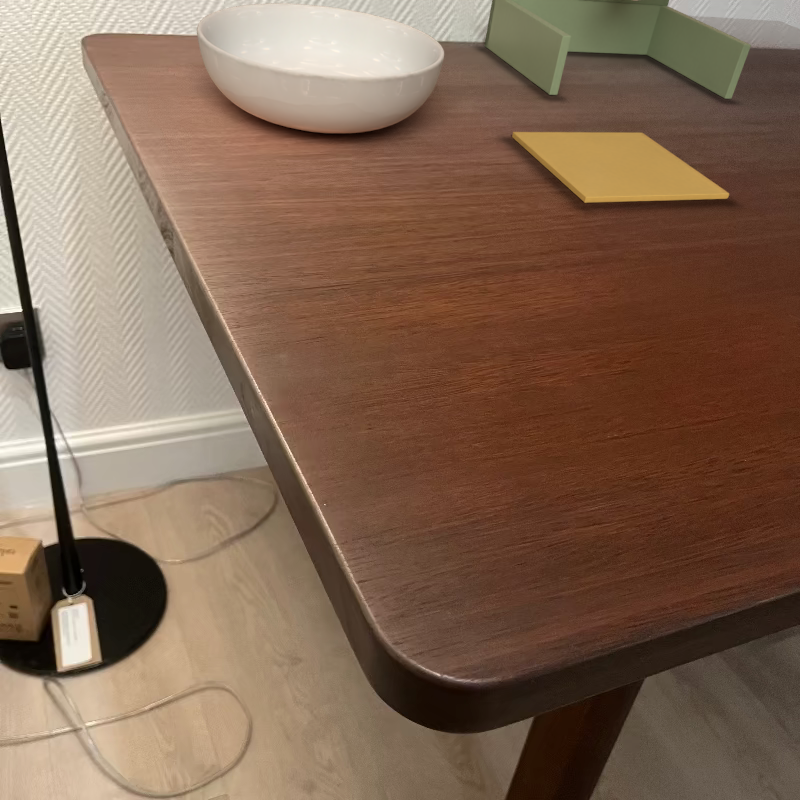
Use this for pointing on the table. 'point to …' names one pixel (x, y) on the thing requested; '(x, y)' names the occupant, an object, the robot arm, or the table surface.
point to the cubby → (611, 39)
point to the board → (617, 167)
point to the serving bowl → (319, 65)
